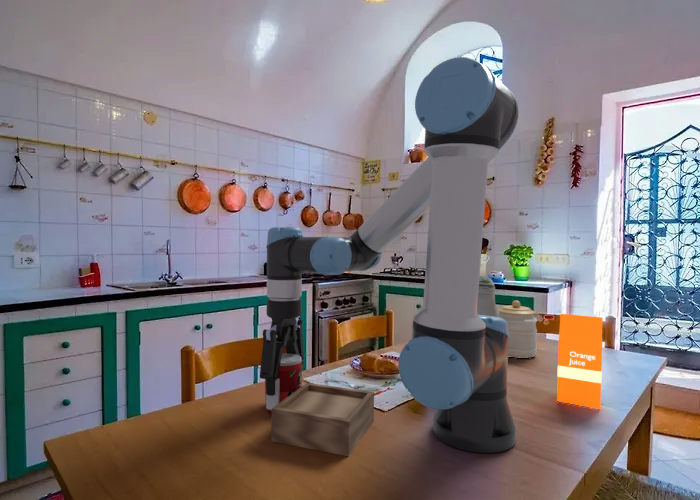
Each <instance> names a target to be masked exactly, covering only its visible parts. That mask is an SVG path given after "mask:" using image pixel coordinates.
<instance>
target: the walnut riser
mask: <svg viewBox="0 0 700 500" xmlns="http://www.w3.org/2000/svg"><path fill="white" fill-rule="evenodd" d="M374 405H375V392H374V391H370V390H369V391H368V390H363V389H362V390H361V389H356V388H355V389H354V388H346V387H339V386H334V385H333V386H331V385H327V384H319V383H313V382H306V383H305V384H304V385H302V387H301V388H299V389H298V390H297V391H295V392H294V393H293V394H291V395H290V396H288V397H287V398H286V399H284V400H283V401H282V402H280V403H279V404H277V405H276V406H275V407H273V408H272V413H271V440H270V441H271V442H273V443H274V442H275V443H278V444H284V445H289V446H295V447H300V448H304V449H309V450H310V449H311V450H314V451H320V452H326V453H330V454H335V455H338V456H339V455H340V456H345V457H349V456H350V455H351V454H352V452H353V451H354V449H355V448H356V447H357V445H358V444H359V442H360V441H361V440H362V438H363V437H364V436H365V434H366V433H367V432H368V430H369V429H370V427H371V426H372V424H373V423H375V422H374V420H375V406H374Z"/></svg>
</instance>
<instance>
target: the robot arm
mask: <svg viewBox="0 0 700 500" xmlns="http://www.w3.org/2000/svg"><path fill="white" fill-rule="evenodd" d="M414 108H415V109H414V110H415V115H416V117H417V120H418V121H419V123H420V125H421V126H422V127H423V128H424V129H425V131H424V133H425V134H424V150H423V153H424V154H425V155H426V156H427V157H426V159H425V160H424V161H422V163H421V164H419V166H417V168H416V169H415V170H414V171H413V172H412V173H410V175H409V176H407V178H406V179H405V180H404V181H403V182H402V183H401V184H400V185H399V187H397V188H396V189H395V190H394V191H393V192H392V193H391V194H390V195H389V196H388V198H387V199H385V200H384V202H383V203H382V204H381V205H380V206H379V207H378V208H377V209H376V210H375V211H374V212H373V213H372V214H371V215H370V216H368V218H367V219H366V220H364V222H362V224H361V225H360V226H359V227H358V228H357V230H355V231H354V232H353V233H352V234H351V235H350V236H347V237H345V236H344V237H343V236H328V235H327V236H303V230H302V228H300V227H289V226H287V227H285V226H284V227H279V226H277V227H274V226H273V227H270V228H269V229H268V231H267V236H266V237H267V239H266V281H267V282H266V285H265V286H266V297H268V299H267V300H266V316H267V317H268V318H270V319H271V324H270V328H269V329H265V328H264V329H263V330H262V340H263V341H262V348H261V349H262V351H261V360H260V367H259V368H260V370H259V378H260V379H263V380H265V379H266V406H265V409H266V410H267V409H269V410H272V408H273V407H275V406H276V405H277V404H279V401H280V379H278V378H277V377H278V372H279V367H280V362H281V358H282V353H283V352H284V348H285V353H290V354H296V355H299V356H300V357H301V359H302V367H303V366H304V360H305V351H304V349H305V348H304V339H303V338H304V337H303V323H304V322H303V319H298V318H300V317H301V315H302V303H303V302H302V299H301V297H302V295H303V294H302V293H303V292H302V291H303V290H302V289H303V282H302V281H303V279H302V278H303V273H308V274H316V275H317V274H319V275H323V276H326V277H327V276H338V275H342V274H344V273H345V272H355V271H356V272H361V271H367V270H369V269H374V268H375V267H376V266H378V264H380V260H381V257H382V255H383V252H384V251H385V250H386V249H387V248H388V247H389V246H390V245H392V244H393V242H395V241H396V240H397V239H398V238H399V237H400V236H401V235H402V234H403V233H404V232H405V231H406V230H408V229H409V228H410V227H411V226H412V225H413V224H414V223H415V222H416V221H417V220H418V219H419V218H421V216H422V215H423V214H425V213H426V212H427V211H428V210H429V217H428V227H427V228H428V231H427V245H426V258H425V259H426V260H425V274H424V275H425V276H424V288H423V303H422V305H423V306H422V308H421V309H420V310H419V311H418V312H417V313H415V315H414V316H413V318H412V331H411V339H410V340H408V342H406V344H405V345H404V346H403V348H402V349H401V351H400V354H399V357H398V362H397V364H398V367H397V368H398V372H399V373H398V374H399V377H400V380H401V382H402V384H403V386H404V388H405V389H406V390H408V393H409V394H410V396H411V397H412V398H413V399H414V400H416V401H417V402H418V403H420V404H421V405H423V406H425V407H427V408H430V409H433V410H435V413H434V417H433V433H434V435H435V436H436V437H437V438H438V439H439V441H441V442H443V443H445V444H446V445H448V446H450V447H453V448H456V449H458V450H463V451H468V452H472V453H479V454H481V453H483V454H494V453H501V452H505V451H507V450H511V448H513V447H514V446H515V445H516V441H517V440H516V439H517V429H516V425H515V421H514V418H513V414H512V411H511V408H510V405H509V402H508V397H507V395H508V391H507V390H508V364H509V363H508V361H509V360H508V359H509V357H508V339H509V334H508V324H507V322H506V321H505V320H504V319H502V318H499V317H493V316H486V315H478V314H477V303H478V290H479V277H480V276H481V275H480V274H481V263H482V261H481V259H482V248H483V247H482V246H483V235H484V220H485V207H486V195H487V182H488V181H487V180H488V168H489V167H488V166H489V163H490V162H491V161H492V160H493V159H494V158H495V157H496V156H497V155H499V153H500V150H501V148H502V147H504V145H506V143H507V142H508V140H510V138H511V137H512V135H513V134H514V131H515V130H516V127H517V124H518V119H519V105H518V101H517V99H516V97H515V95H514V93H513V92H512V91H511V90H510V88H508V86H506V85H505V84H504V83H503V82H502V81H501V80H499V78H498V77H497V76H496V75H495V74H494V73H493V71H492V70H491V69H490V68H489V66H487V65H486V64H483V63H480V61H478V60H476V59H474V58H471V57H466V56H463V57H462V56H460V57H459V56H457V57H452V58H449V59H446V60H445V61H442V62H440V63H438V64H437V65H436V66H434V67H433V68H432V69H431V70H430V72H429V73H428V74H427V75H425V77H424V78H423V79H422V81H421V83H420V85H419V86H418V89H417V92H416V95H415V100H414Z"/></svg>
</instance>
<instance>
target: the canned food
mask: <svg viewBox="0 0 700 500" xmlns="http://www.w3.org/2000/svg"><path fill="white" fill-rule="evenodd" d="M299 355H300V354H299ZM299 355H296V354H290V353H287V352H285V353H282V358H281V362H280V367H279V372H278V377H277V378H278V379H280V401H279V403H280V402H282V401H283V400H284V399H286V398H287V397H288V396H290V395H291V394H293V393H294V392H295V391H297V390H298V389H299V388H301V387H302V386H303V385H302V380H303V378H302V377H303V376H302V374H303V372H302V371H303V366H302V359H301V357H300V356H299ZM264 405H265V407H266V379H264ZM266 410H267V412H270V413H271V414H272V410H269V409H266Z"/></svg>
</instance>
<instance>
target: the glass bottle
mask: <svg viewBox="0 0 700 500" xmlns="http://www.w3.org/2000/svg"><path fill="white" fill-rule="evenodd" d="M477 314H478V315H486V316H493V317H498V314H499V312H498V309H497V305H496V286H495V282H494V281H493V280H492V279H491V278H490V277H488V276H483V275H480V277H479V290H478V303H477Z"/></svg>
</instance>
